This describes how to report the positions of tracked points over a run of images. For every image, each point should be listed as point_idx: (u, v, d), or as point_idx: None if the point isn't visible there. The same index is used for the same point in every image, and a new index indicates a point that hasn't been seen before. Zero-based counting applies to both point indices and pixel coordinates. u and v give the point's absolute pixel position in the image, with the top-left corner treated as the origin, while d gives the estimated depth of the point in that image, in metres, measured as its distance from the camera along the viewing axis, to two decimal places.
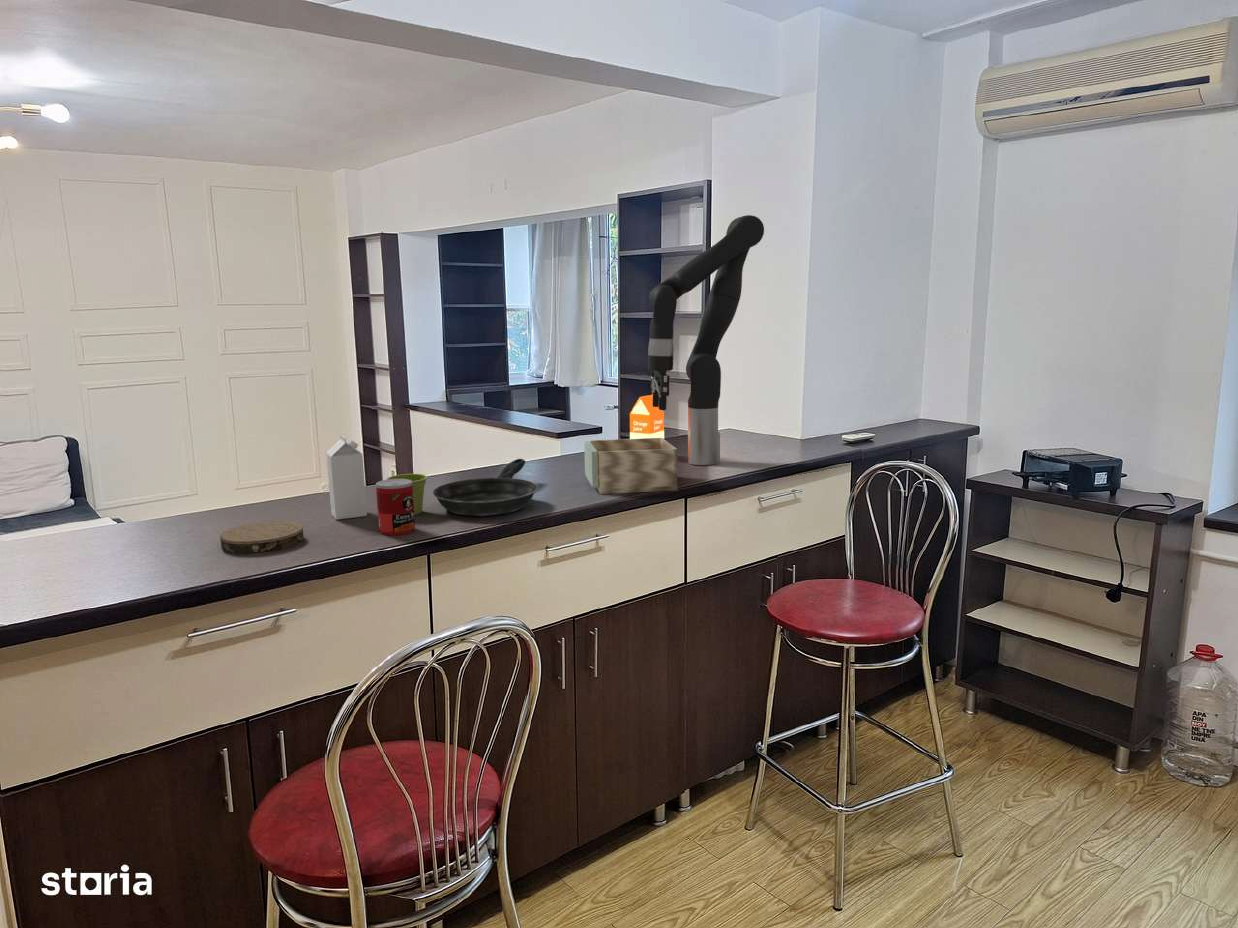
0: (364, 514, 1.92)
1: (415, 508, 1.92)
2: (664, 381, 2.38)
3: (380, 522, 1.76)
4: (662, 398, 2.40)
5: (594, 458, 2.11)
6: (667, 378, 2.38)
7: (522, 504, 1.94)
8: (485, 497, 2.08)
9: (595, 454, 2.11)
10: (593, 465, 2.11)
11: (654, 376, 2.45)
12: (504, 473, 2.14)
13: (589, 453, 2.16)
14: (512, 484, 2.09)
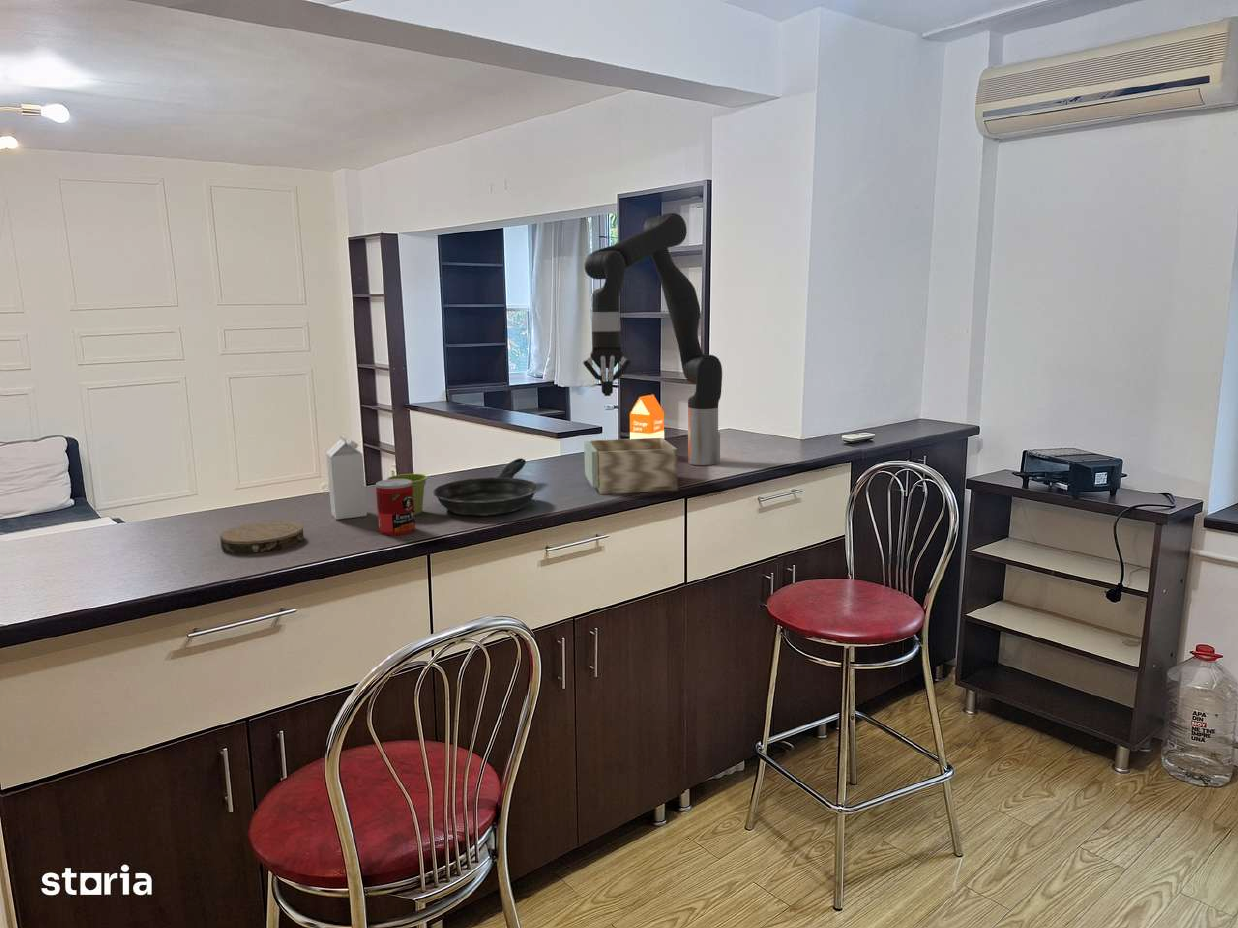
0: (364, 514, 1.92)
1: (415, 508, 1.92)
2: None
3: (380, 522, 1.76)
4: None
5: (594, 458, 2.11)
6: None
7: (522, 504, 1.94)
8: (485, 497, 2.08)
9: (595, 454, 2.11)
10: (593, 465, 2.11)
11: (602, 355, 2.14)
12: (504, 473, 2.14)
13: (589, 453, 2.16)
14: (513, 484, 2.09)
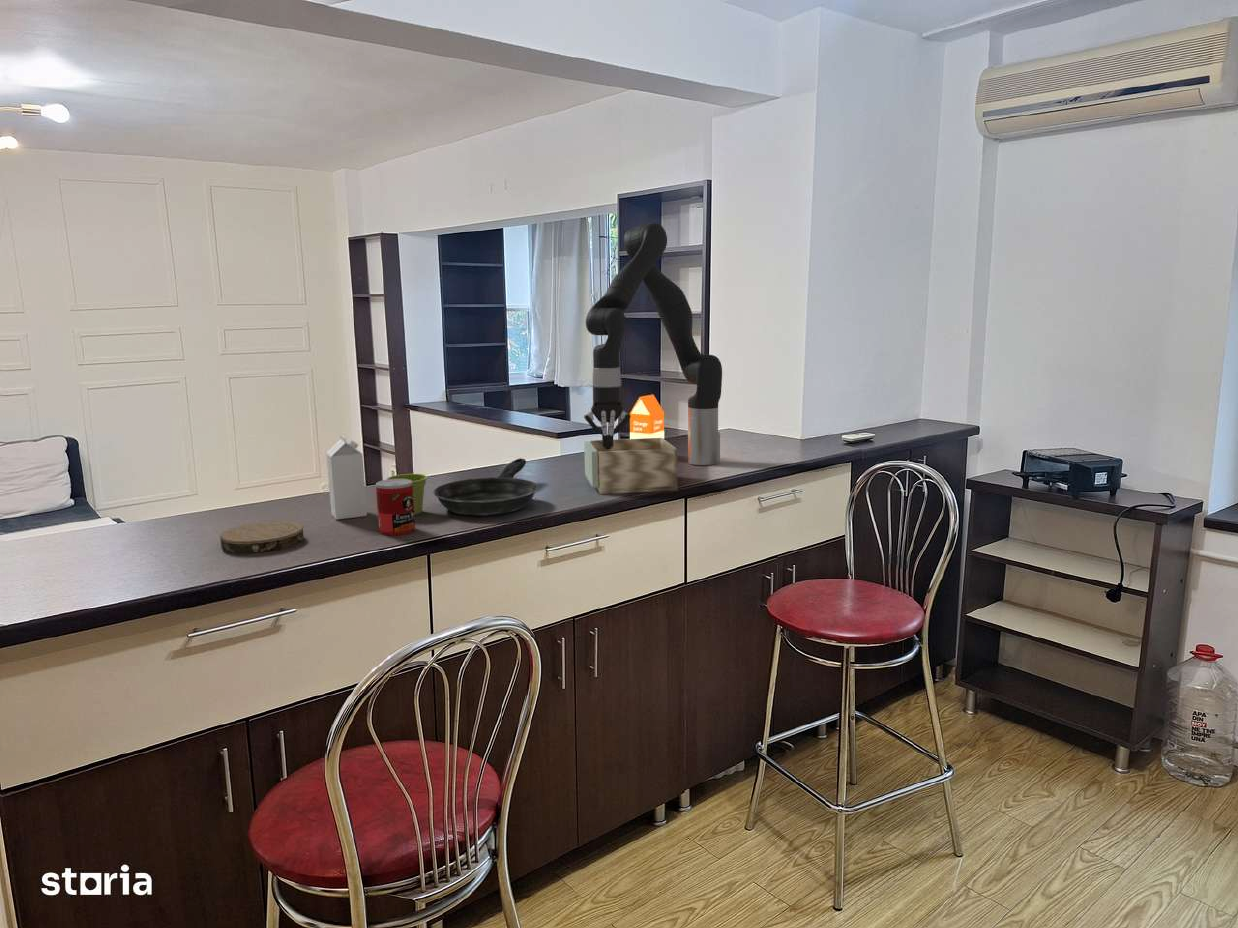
0: (364, 514, 1.92)
1: (415, 508, 1.92)
2: None
3: (380, 522, 1.76)
4: None
5: (594, 458, 2.11)
6: None
7: (522, 504, 1.94)
8: (486, 497, 2.08)
9: (595, 454, 2.11)
10: (593, 465, 2.11)
11: (602, 410, 2.16)
12: (505, 473, 2.15)
13: (589, 453, 2.16)
14: (513, 484, 2.09)
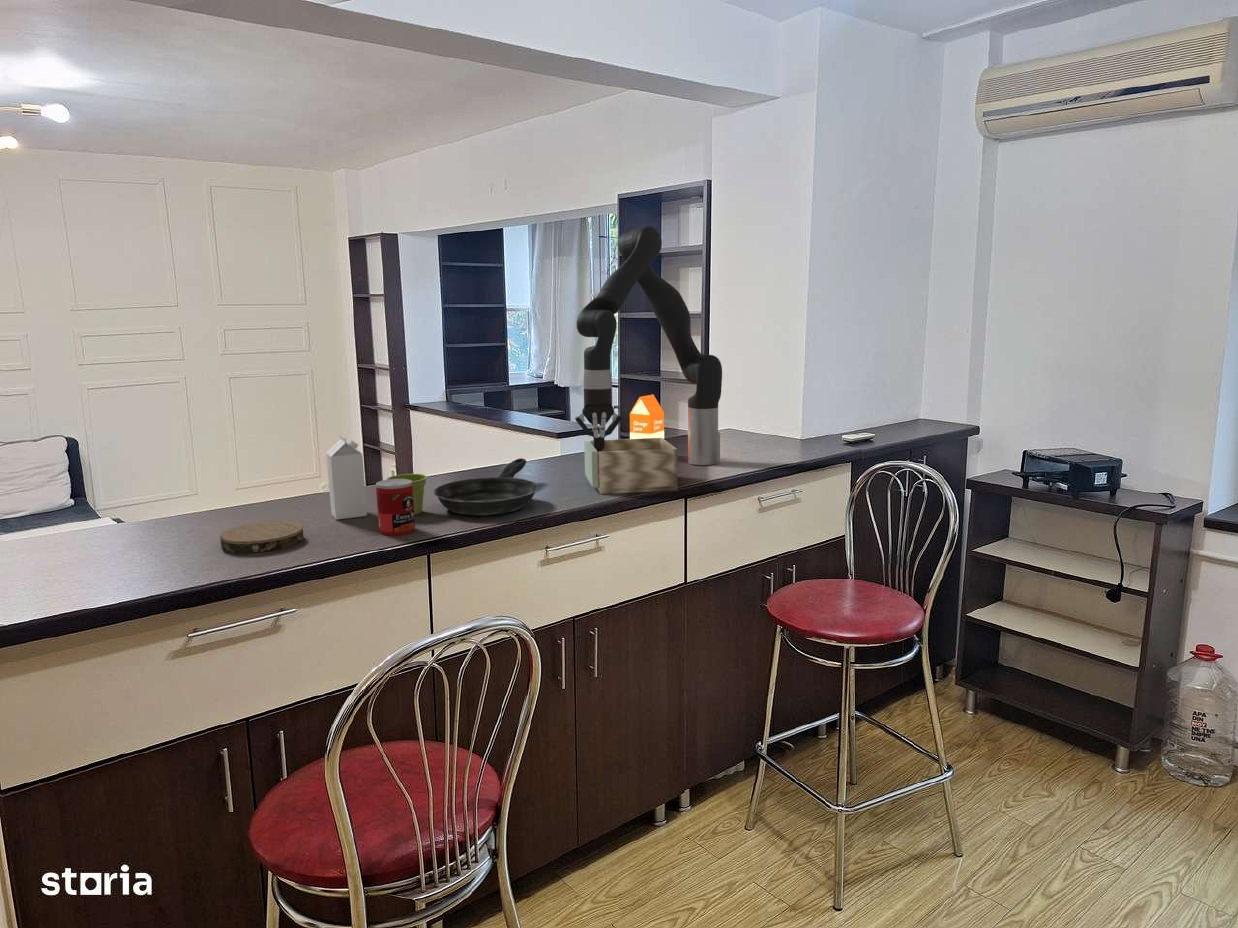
0: (364, 514, 1.92)
1: (415, 508, 1.92)
2: None
3: (380, 522, 1.76)
4: None
5: (594, 458, 2.11)
6: None
7: (523, 504, 1.94)
8: (486, 497, 2.08)
9: (595, 454, 2.11)
10: (593, 465, 2.11)
11: (593, 412, 2.16)
12: (505, 473, 2.15)
13: (589, 453, 2.16)
14: (513, 484, 2.09)
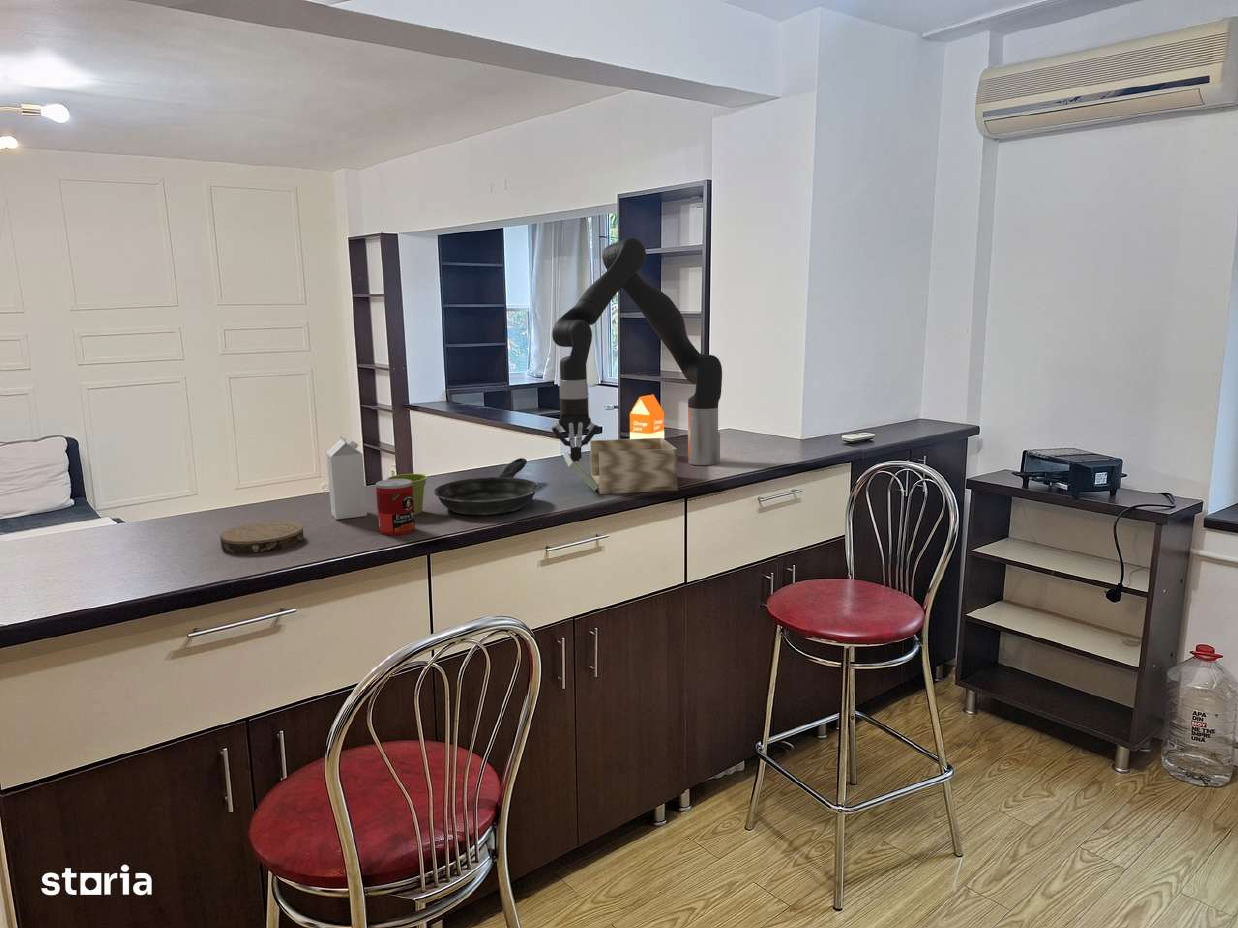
0: (364, 514, 1.92)
1: (415, 508, 1.92)
2: None
3: (380, 522, 1.76)
4: None
5: (575, 469, 2.11)
6: None
7: (523, 503, 1.94)
8: (486, 496, 2.08)
9: (573, 465, 2.11)
10: (579, 475, 2.11)
11: (570, 422, 2.15)
12: (505, 472, 2.15)
13: None
14: (513, 483, 2.09)
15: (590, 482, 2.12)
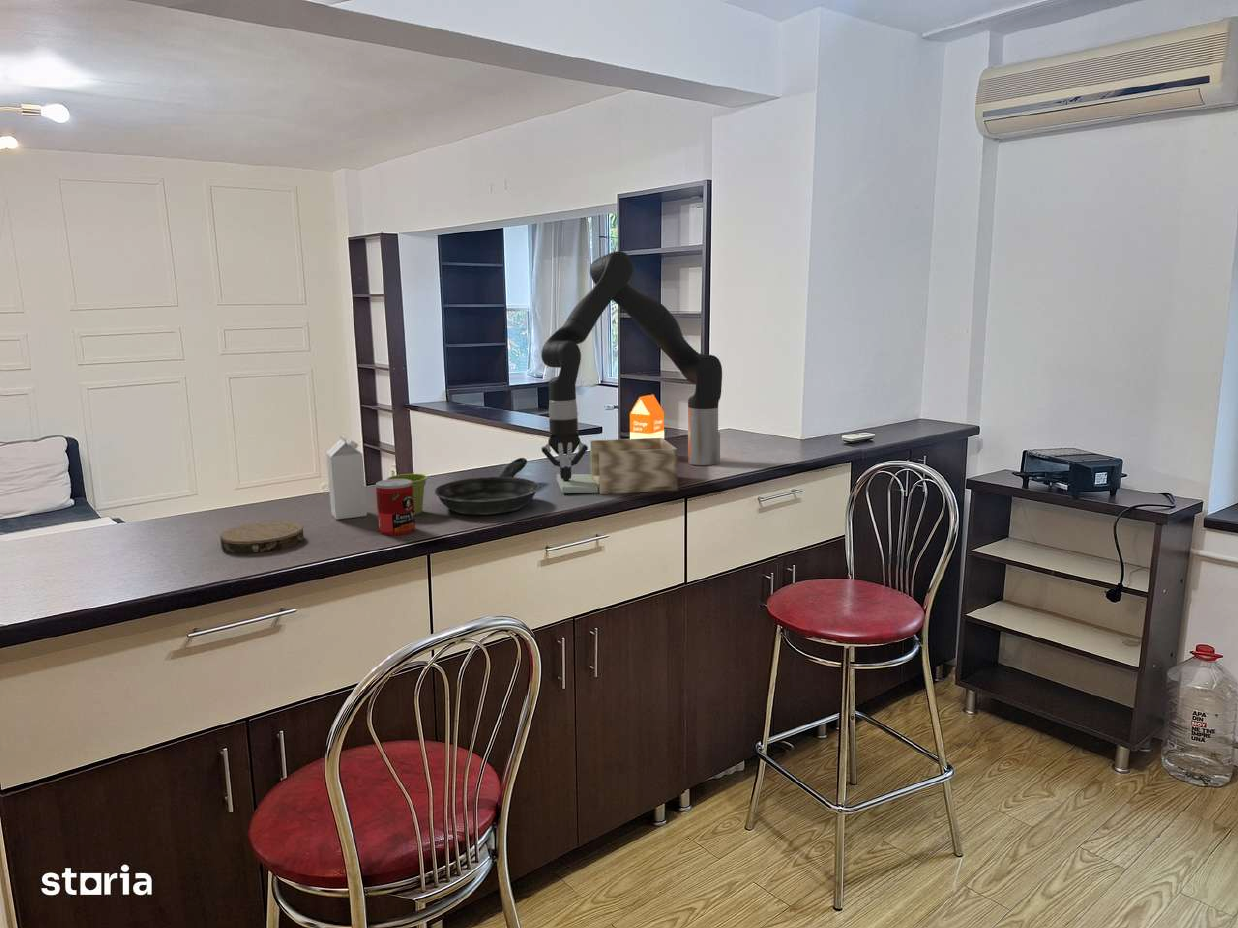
0: (364, 514, 1.92)
1: (415, 508, 1.92)
2: None
3: (380, 522, 1.76)
4: None
5: (568, 490, 2.12)
6: None
7: (523, 503, 1.94)
8: (487, 496, 2.09)
9: (564, 488, 2.11)
10: (575, 491, 2.12)
11: (559, 442, 2.16)
12: (506, 472, 2.15)
13: None
14: (514, 483, 2.10)
15: (589, 489, 2.12)
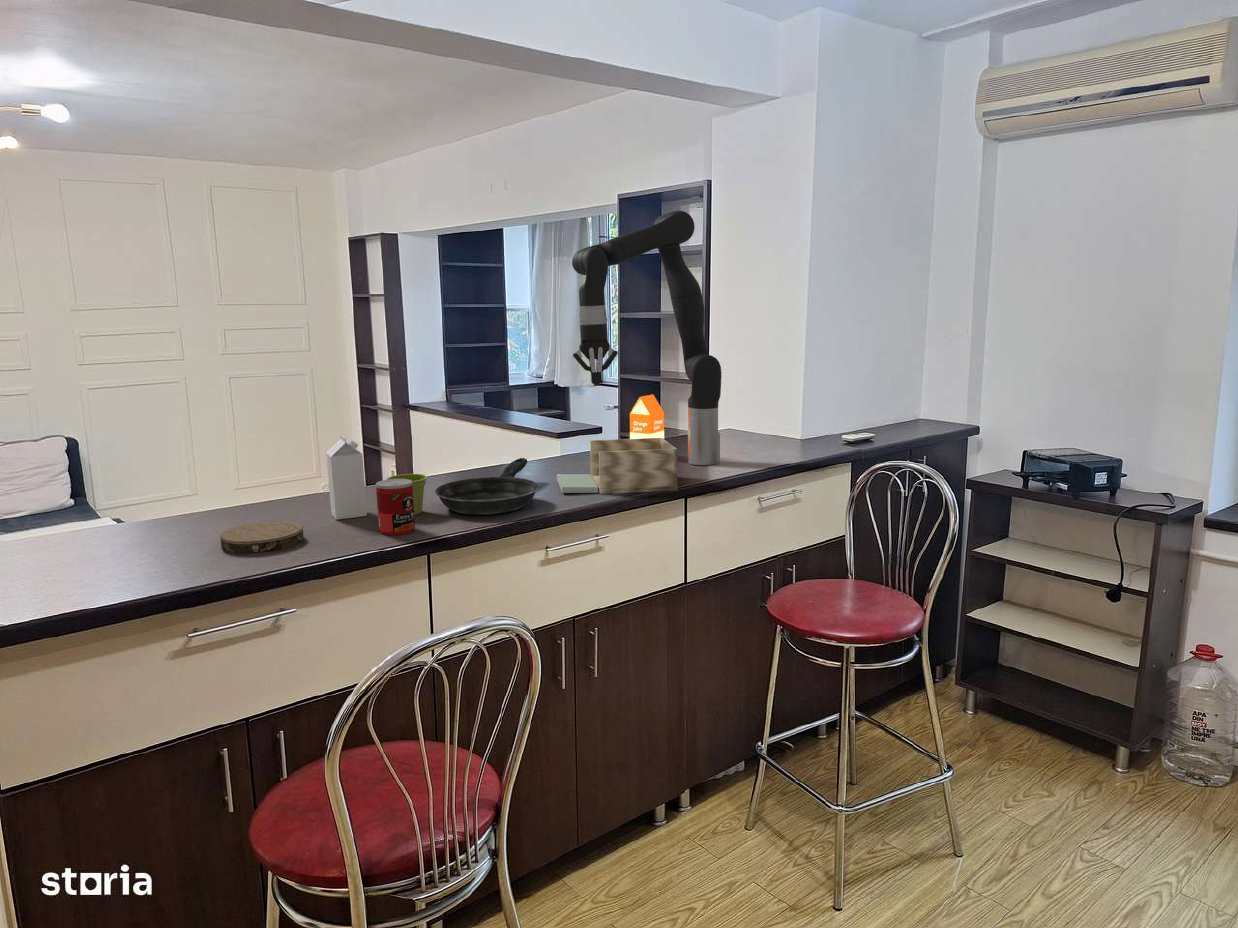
0: (364, 514, 1.92)
1: (415, 508, 1.92)
2: None
3: (380, 522, 1.76)
4: None
5: (568, 490, 2.12)
6: None
7: (523, 503, 1.95)
8: (487, 496, 2.09)
9: (564, 488, 2.11)
10: (575, 491, 2.12)
11: (590, 347, 2.25)
12: (506, 472, 2.15)
13: None
14: (514, 483, 2.10)
15: (589, 489, 2.12)
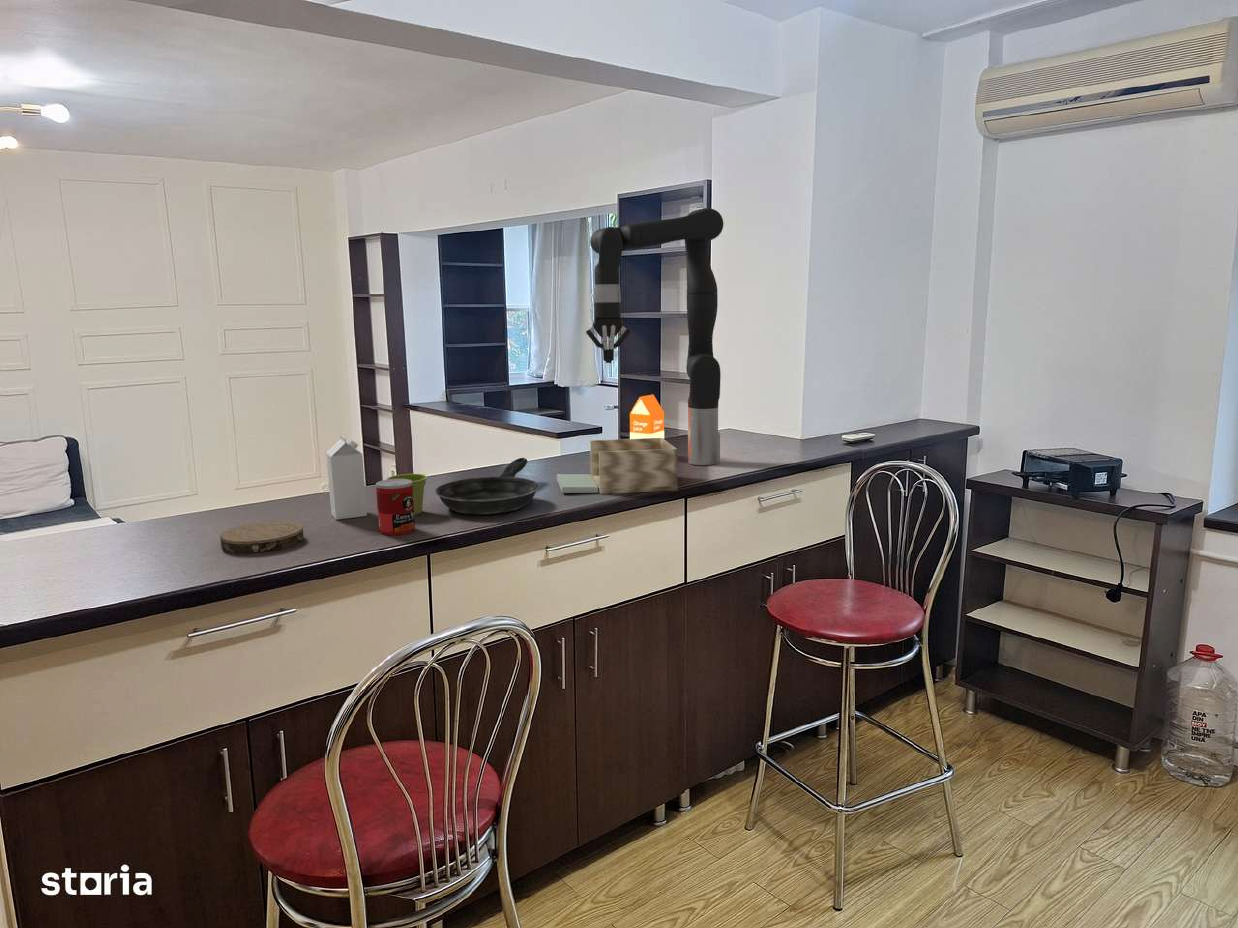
0: (364, 514, 1.92)
1: (415, 508, 1.92)
2: None
3: (380, 522, 1.76)
4: None
5: (568, 490, 2.12)
6: None
7: (524, 503, 1.95)
8: (487, 496, 2.09)
9: (564, 488, 2.11)
10: (575, 491, 2.12)
11: (603, 325, 2.30)
12: (506, 472, 2.15)
13: None
14: (514, 483, 2.10)
15: (589, 489, 2.12)
